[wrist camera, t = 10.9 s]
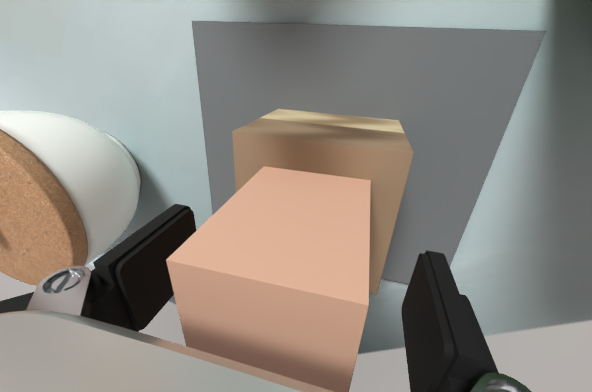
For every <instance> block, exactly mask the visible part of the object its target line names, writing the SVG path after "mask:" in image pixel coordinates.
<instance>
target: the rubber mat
mask: <svg viewBox="0 0 592 392" xmlns="http://www.w3.org/2000/svg"><path fill="white" fill-rule="evenodd" d="M192 28H193V37H194V46H195V55H196V64H197V73H198V83H199V92H200V101H201V110H202V119H203V128H204V137H205V147H206V156H207V165H208V174H209V183H210V192H211V201H212V211H213V214H214V213H216V212H217V211H218V210H219V209H220V208H221V207H222V206H223V205H224V204H225V203H226V202H227V201H228V200H229V199H230V198H231V197H232V196H233V195H234V194H235V193H236V186H235V169H234V153H233V136H232V131H234V130H236V129H238V128H240V127H242V126H244V125H246V124H248V123H250V122H252V121H254V120H256V119H259V118H261V117H263V116H265V115H267V114H269V113H271V112H273V111H275V110H277V109H285V110H296V111H306V112H317V113H327V114H338V115H348V116H359V117H369V118H380V119H390V120H399V122H400V124H401V126H402V128H403V131H404V133H405V135H406V137H407V139H408V142H409V144H410V146H411V148H412V150H413V157H412V161H411V165H410V168H409V172H408V176H407V180H406V184H405V188H404V191H403V195H402V199H401V203H400V207H399V211H398V214H397V218H396V222H395V226H394V230H393V234H392V237H391V241H390V245H389V249H388V253H387V256H386V260H385V264H384V268H383V272H382V276H381V278H382V279H387V280H392V281H396V282H401V283H406V284H409V283H410V280H411V277H412V274H413V271H414V268H415V265H416V262H417V259H418V256H419V254H420V253H422V254H424V253H425V252H426V251H427V250H428V251H433V252H439V253H443V254H444V255H445V257H446V259H447V262H448V265H449V267H450V265H451V262H452V260H453V257H454V255H455V252H456V250H457V247H458V245H459V243H460V240H461V238H462V235H463V233H464V230H465V228H466V225H467V223H468V221H469V218H470V216H471V213H472V211H473V208H474V206H475V203H476V201H477V199H478V196H479V194H480V191H481V189H482V186H483V184H484V181H485V179H486V176H487V174H488V172H489V169H490V167H491V164H492V162H493V159H494V157H495V154H496V152H497V150H498V147H499V145H500V142H501V140H502V137H503V135H504V132H505V130H506V128H507V125H508V123H509V120H510V118H511V115H512V113H513V110H514V108H515V106H516V103H517V101H518V98H519V96H520V93H521V91H522V88H523V86H524V84H525V81H526V79H527V76H528V74H529V71H530V69H531V66H532V64H533V62H534V59H535V57H536V54H537V52H538V49H539V47H540V44H541V42H542V40H543V37H544V35H545V32H546V31H528V30H494V29H459V28H424V27H390V26H355V25H320V24H286V23H251V22H217V21H192Z"/></svg>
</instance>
